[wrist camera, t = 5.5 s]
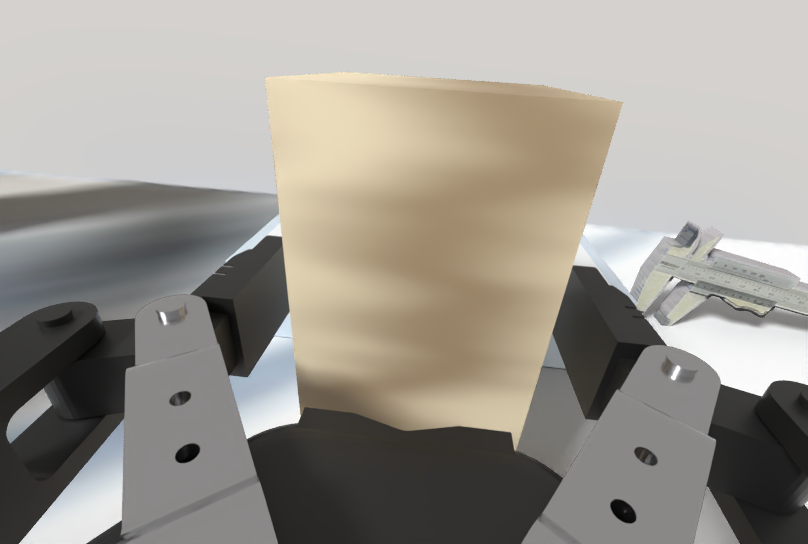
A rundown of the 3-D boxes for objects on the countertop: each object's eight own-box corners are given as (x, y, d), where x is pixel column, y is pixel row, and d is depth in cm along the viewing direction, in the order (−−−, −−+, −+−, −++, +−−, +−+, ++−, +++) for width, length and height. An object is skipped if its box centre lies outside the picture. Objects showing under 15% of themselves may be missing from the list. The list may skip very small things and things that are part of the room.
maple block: (313, 533, 11) (264, 77, 5) (350, 402, 16) (346, 71, 10) (483, 557, 11) (622, 102, 5) (473, 417, 15) (543, 85, 10)
